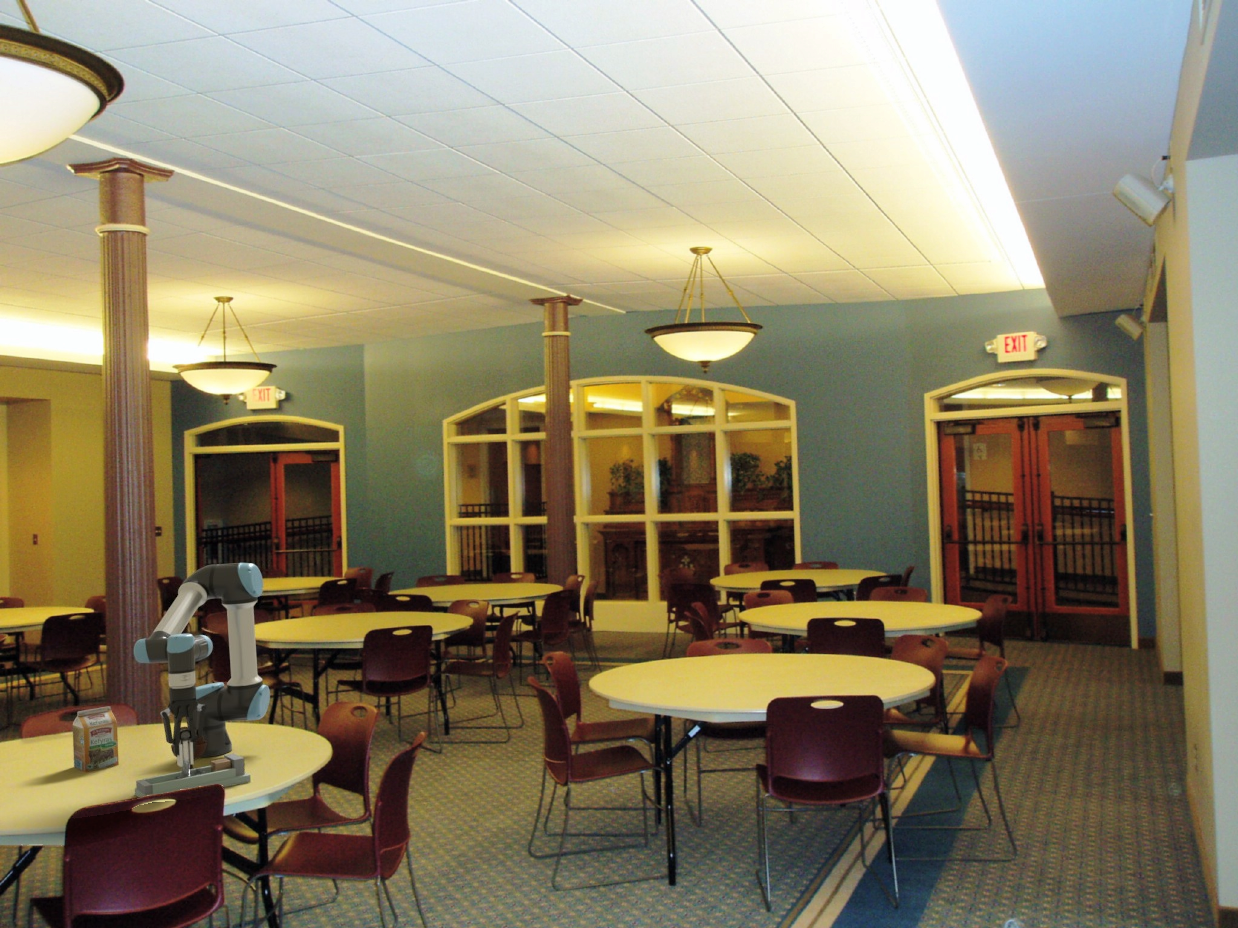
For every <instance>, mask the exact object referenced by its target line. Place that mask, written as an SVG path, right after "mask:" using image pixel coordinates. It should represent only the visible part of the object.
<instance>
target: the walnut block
mask: <svg viewBox="0 0 1238 928" xmlns="http://www.w3.org/2000/svg"><path fill="white" fill-rule="evenodd" d="M210 766H211V772H216V771H221V770H226V769H231V761H230V760H228V759H226V758H220V759H216V760H210Z"/></svg>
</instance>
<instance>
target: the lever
mask: <svg viewBox="0 0 1238 928" xmlns="http://www.w3.org/2000/svg"><path fill="white" fill-rule="evenodd" d="M190 737H191V733H190V731H189V730H187V729H183V730H181V731H180V744H182V755H183V766H181V770H180V771H182V775H181V776H176V779H181V778H186V777H191V776H196V775H201V774H206V773H207V772H205V771H203V770H201V769H196V773H191V774H190V755H189V739H190Z"/></svg>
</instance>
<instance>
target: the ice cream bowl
mask: <svg viewBox="0 0 1238 928" xmlns="http://www.w3.org/2000/svg"><path fill="white" fill-rule="evenodd" d="M183 729H187V730H188V726H181V730H183ZM181 730H180V731H181ZM195 734H196V730H195ZM189 741H190V739H189ZM179 743H180V742H179ZM206 747H207V741H206V740H204V737H203V735H202V738H199V739H198V740H197V741H196V752H193V762H194V760H197V759H199V757H200V756H201V755H202V754H203V753H204V752H205V750H206ZM170 749H171V751H172V754H173V756H174V757H176V758H177V755H174V748H173V744H170ZM200 758H201V757H200ZM190 769H195V768H194V764H190Z"/></svg>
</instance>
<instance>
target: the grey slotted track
mask: <svg viewBox="0 0 1238 928" xmlns="http://www.w3.org/2000/svg"><path fill="white" fill-rule="evenodd" d="M223 757H224V758H226V759H228V760H230V761H231V769H226V770H221V771H216V772H211V765H207V766H206V765H205V766H202V767H196V768H195V769H190V774H191V773H196V769H201V770H203V771H205V772H207V773H206V774H201V775H196V776H191V777H186V778H181V779H176V776H181V775H182V770H180V771H177V772H176V771H175V772H171V773H170V772H169V773H166V774H161V775H156V776H150V777H146V778H142V779H140V780H139V779H138V780H135V784H136V785H135V787H134V796H136V797H137V798H139V797H143V796H147V795H155V794H163V793H167V792H173V791H178V790H180V789H188V788H195V787H199V786H207V785H214V784H221V785H223V786H225V787H224V788H226V787H232V786H235V785H240V784H246V783H250V782H251V774H249V773H247V772H245V757H244V756H241V755H238V754H237V753H229V754H223ZM224 758H223V759H224Z"/></svg>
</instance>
